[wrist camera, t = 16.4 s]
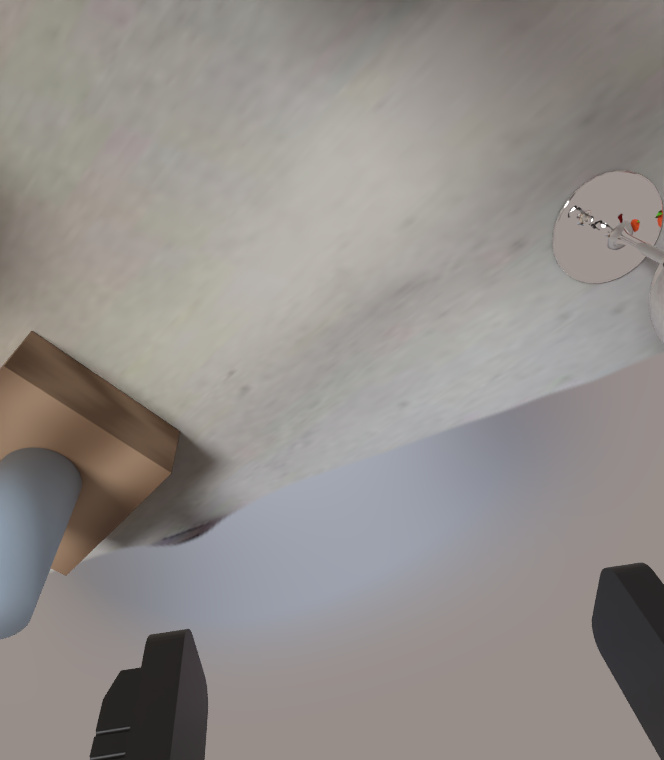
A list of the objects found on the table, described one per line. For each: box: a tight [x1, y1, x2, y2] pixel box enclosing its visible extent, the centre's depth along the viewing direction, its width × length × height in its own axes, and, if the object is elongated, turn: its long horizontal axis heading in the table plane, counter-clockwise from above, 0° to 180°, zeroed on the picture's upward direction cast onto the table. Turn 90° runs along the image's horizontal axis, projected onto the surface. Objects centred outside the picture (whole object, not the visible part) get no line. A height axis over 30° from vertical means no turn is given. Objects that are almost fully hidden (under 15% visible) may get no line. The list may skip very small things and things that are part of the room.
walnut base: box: [0, 331, 180, 575], centre depth 41 cm, size 12×12×5 cm
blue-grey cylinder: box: [0, 448, 82, 639], centre depth 35 cm, size 5×5×10 cm
